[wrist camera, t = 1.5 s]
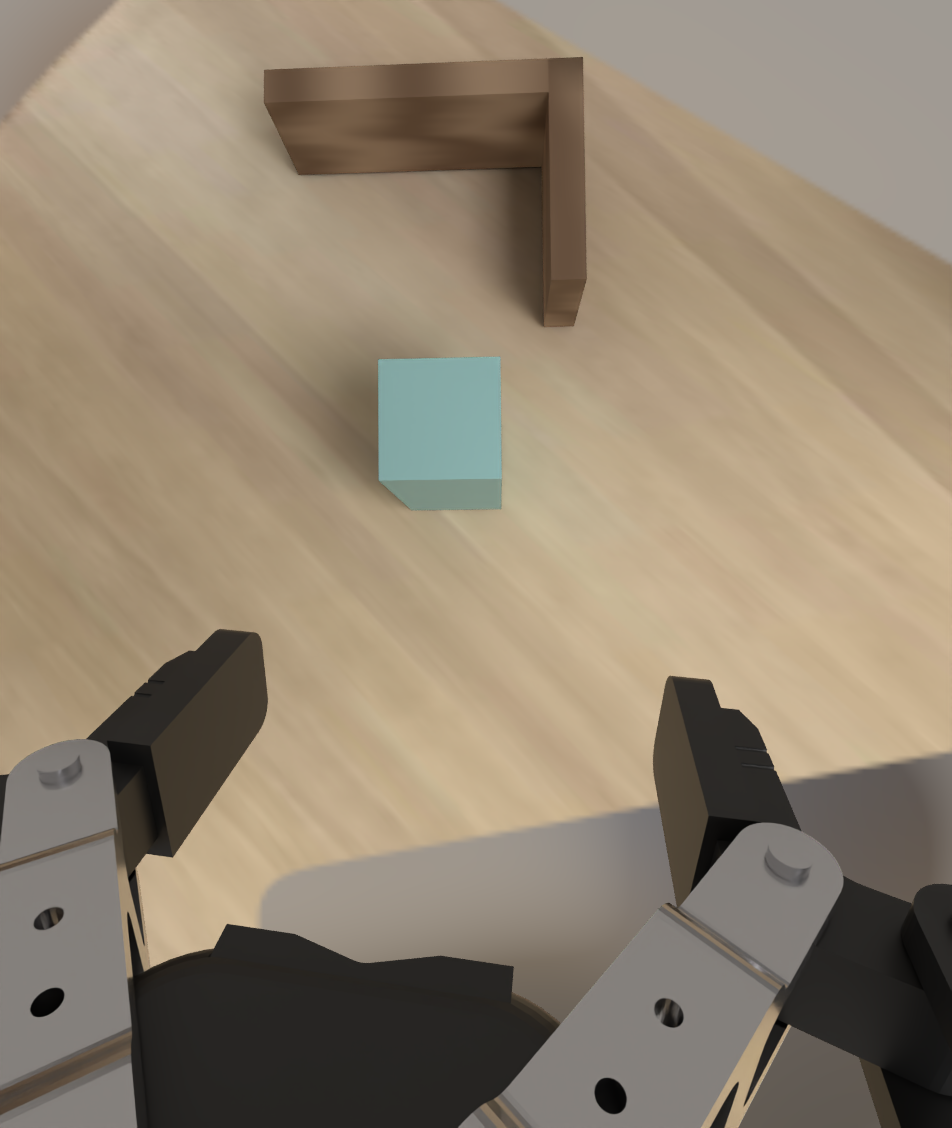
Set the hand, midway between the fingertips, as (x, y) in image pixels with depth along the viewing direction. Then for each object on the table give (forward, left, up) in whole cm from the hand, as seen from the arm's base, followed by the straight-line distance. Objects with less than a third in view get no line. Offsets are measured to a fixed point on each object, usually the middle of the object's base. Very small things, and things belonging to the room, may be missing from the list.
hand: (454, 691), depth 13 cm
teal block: (+1, -8, -20) cm, 21 cm away
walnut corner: (+2, -20, -20) cm, 28 cm away
